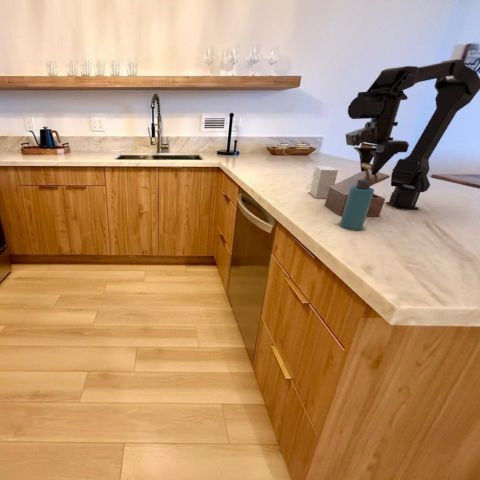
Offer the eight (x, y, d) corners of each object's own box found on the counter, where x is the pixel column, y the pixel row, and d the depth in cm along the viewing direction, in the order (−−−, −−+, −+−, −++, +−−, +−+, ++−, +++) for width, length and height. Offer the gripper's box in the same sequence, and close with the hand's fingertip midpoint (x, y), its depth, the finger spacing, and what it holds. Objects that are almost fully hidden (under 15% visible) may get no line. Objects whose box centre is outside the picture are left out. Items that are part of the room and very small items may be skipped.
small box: (331, 198, 106) (338, 170, 101) (314, 198, 107) (321, 169, 102) (324, 193, 113) (331, 166, 109) (309, 192, 114) (315, 165, 110)
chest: (359, 206, 98) (364, 189, 96) (379, 216, 88) (385, 198, 86) (324, 205, 99) (328, 188, 96) (340, 215, 89) (345, 197, 87)
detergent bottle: (353, 222, 83) (366, 178, 78) (366, 230, 78) (382, 183, 73) (335, 223, 83) (347, 178, 78) (348, 230, 78) (362, 183, 73)
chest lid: (368, 170, 93) (364, 158, 91) (389, 177, 83) (386, 163, 82) (329, 188, 96) (325, 177, 95) (346, 197, 87) (341, 184, 85)
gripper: (337, 117, 91) (326, 167, 97) (373, 119, 74) (357, 180, 80) (374, 117, 90) (360, 167, 97) (419, 118, 73) (399, 179, 80)
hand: (367, 172), depth 88 cm, fingers closed on chest lid, 5 cm apart
